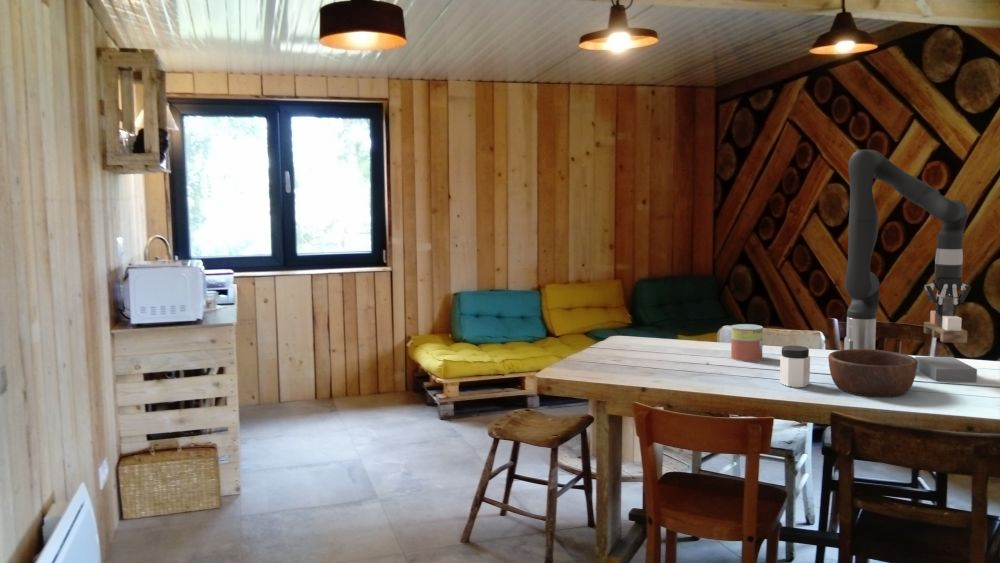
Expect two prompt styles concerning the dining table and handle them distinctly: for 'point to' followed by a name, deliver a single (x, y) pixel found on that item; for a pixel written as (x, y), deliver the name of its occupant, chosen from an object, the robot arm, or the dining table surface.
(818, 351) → the dining table surface
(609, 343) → the dining table surface
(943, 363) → the dock
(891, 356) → the wooden bowl
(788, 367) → the jar
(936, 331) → the pallet
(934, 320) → the cargo terracotta
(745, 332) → the canned food
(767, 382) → the dining table surface
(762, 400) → the dining table surface
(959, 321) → the block
